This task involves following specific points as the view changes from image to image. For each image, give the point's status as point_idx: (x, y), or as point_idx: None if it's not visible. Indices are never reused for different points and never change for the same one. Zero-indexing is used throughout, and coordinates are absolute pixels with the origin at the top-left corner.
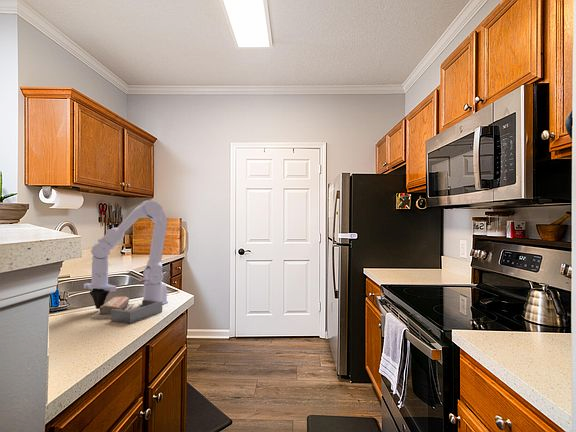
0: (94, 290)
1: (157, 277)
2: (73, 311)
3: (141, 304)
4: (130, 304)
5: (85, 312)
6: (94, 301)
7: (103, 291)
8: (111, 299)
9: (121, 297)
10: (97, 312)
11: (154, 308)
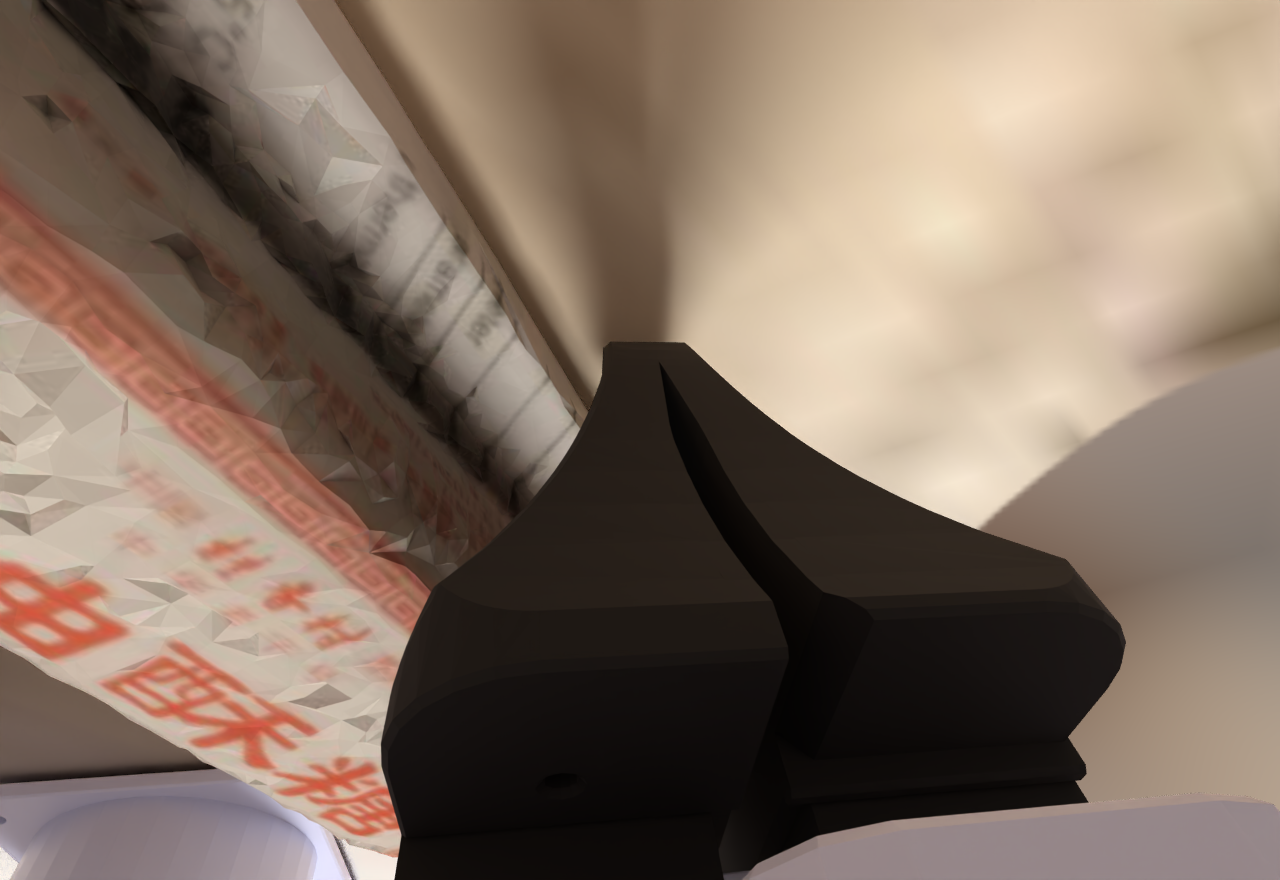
0: (952, 773)
1: None
2: (1181, 120)
3: (243, 788)
4: None
5: (846, 153)
6: (755, 419)
7: (405, 830)
8: None
9: None
10: (280, 20)
11: None
